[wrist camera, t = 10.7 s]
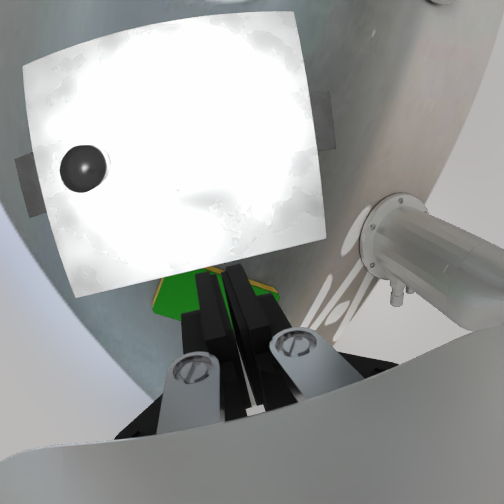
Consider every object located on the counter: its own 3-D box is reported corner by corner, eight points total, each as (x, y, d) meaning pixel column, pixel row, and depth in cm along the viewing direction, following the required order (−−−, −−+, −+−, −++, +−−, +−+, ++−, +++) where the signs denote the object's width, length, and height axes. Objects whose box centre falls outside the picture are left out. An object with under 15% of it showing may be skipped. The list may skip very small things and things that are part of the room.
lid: (320, 234, 26) (338, 246, 23) (78, 292, 23) (69, 310, 20) (288, 15, 20) (303, 2, 17) (27, 68, 16) (11, 60, 13)
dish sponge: (171, 250, 36) (172, 258, 34) (275, 286, 41) (281, 295, 39) (152, 302, 38) (151, 312, 36) (251, 331, 43) (256, 341, 41)
